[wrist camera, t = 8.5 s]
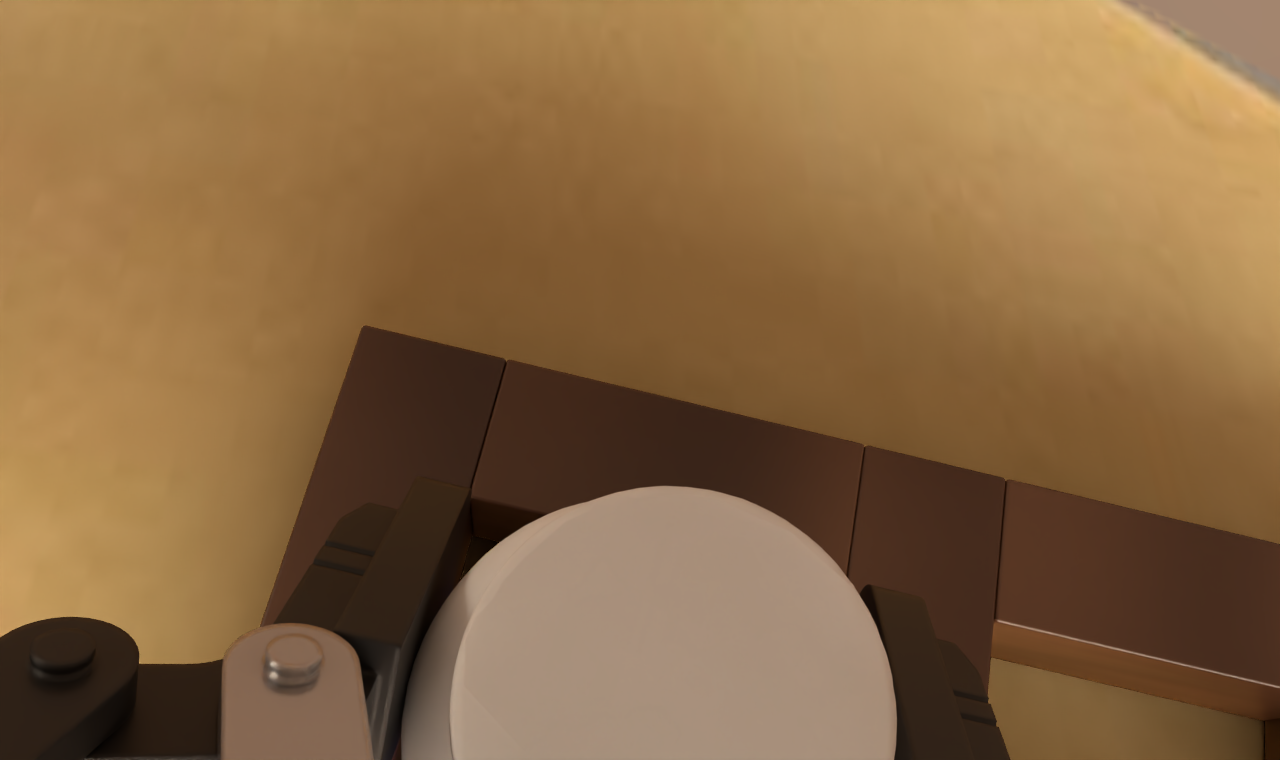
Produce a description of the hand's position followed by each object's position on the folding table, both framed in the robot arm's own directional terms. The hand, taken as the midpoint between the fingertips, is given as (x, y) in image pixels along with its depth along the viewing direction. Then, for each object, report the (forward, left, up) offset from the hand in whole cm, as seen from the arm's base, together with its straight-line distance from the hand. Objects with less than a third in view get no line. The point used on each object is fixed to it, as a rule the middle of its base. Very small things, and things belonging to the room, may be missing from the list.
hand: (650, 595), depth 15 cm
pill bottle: (0, -2, -4) cm, 5 cm away
